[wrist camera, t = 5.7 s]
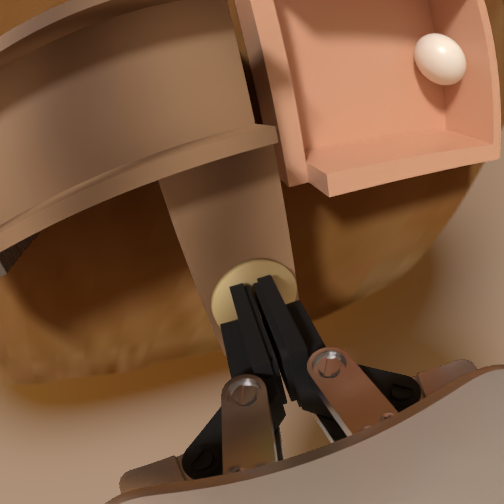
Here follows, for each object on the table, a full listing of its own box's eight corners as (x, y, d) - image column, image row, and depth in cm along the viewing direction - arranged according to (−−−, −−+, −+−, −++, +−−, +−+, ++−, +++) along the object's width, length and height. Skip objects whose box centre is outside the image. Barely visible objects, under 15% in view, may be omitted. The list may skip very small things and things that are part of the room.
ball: (417, 36, 13) (464, 38, 11) (424, 83, 15) (471, 88, 12) (402, 29, 11) (458, 30, 9) (411, 83, 13) (466, 88, 11)
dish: (426, -12, 11) (477, -20, 7) (448, 140, 17) (499, 158, 13) (226, -29, 10) (246, -73, 5) (272, 172, 16) (306, 203, 12)
